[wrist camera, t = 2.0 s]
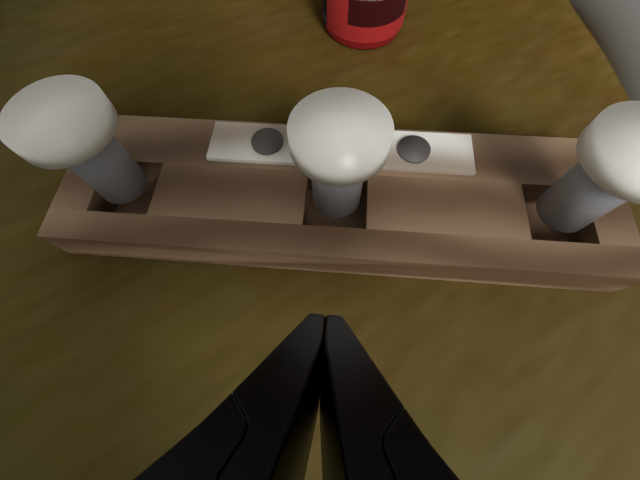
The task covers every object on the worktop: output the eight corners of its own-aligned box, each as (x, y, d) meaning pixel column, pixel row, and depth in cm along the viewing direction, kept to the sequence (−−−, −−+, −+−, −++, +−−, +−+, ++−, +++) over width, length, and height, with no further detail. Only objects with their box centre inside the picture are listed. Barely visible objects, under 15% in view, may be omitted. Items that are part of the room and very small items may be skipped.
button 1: (613, 251, 20) (735, 194, 14) (526, 245, 20) (610, 187, 14) (592, 179, 22) (692, 103, 16) (514, 175, 22) (582, 98, 16)
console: (612, 292, 22) (661, 276, 19) (69, 253, 24) (29, 232, 20) (578, 166, 26) (614, 135, 23) (115, 140, 28) (87, 108, 24)
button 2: (150, 220, 21) (82, 156, 15) (73, 215, 21) (-23, 150, 15) (170, 155, 23) (117, 76, 17) (100, 151, 23) (24, 72, 17)
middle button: (374, 235, 20) (394, 175, 14) (293, 230, 21) (280, 168, 15) (375, 167, 22) (393, 89, 16) (301, 162, 23) (292, 84, 17)
